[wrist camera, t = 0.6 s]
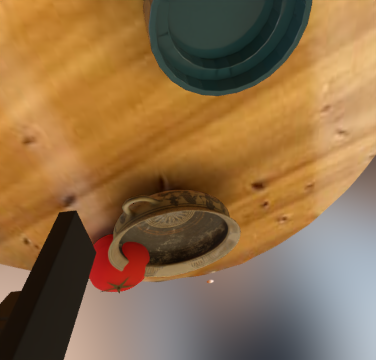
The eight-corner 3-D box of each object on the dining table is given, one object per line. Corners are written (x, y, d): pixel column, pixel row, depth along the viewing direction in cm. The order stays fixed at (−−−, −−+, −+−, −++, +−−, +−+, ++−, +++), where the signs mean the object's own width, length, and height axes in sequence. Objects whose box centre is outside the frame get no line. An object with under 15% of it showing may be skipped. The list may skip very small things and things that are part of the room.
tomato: (76, 249, 71) (75, 300, 65) (106, 218, 65) (109, 270, 58) (123, 257, 79) (127, 303, 72) (156, 230, 72) (163, 278, 65)
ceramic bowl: (66, 189, 56) (64, 241, 50) (194, 131, 52) (209, 180, 46) (149, 251, 79) (155, 292, 73) (243, 215, 75) (257, 255, 69)
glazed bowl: (112, 21, 36) (115, 45, 33) (220, -143, 28) (238, -131, 25) (217, 92, 47) (227, 116, 44) (319, -11, 38) (341, 9, 35)
